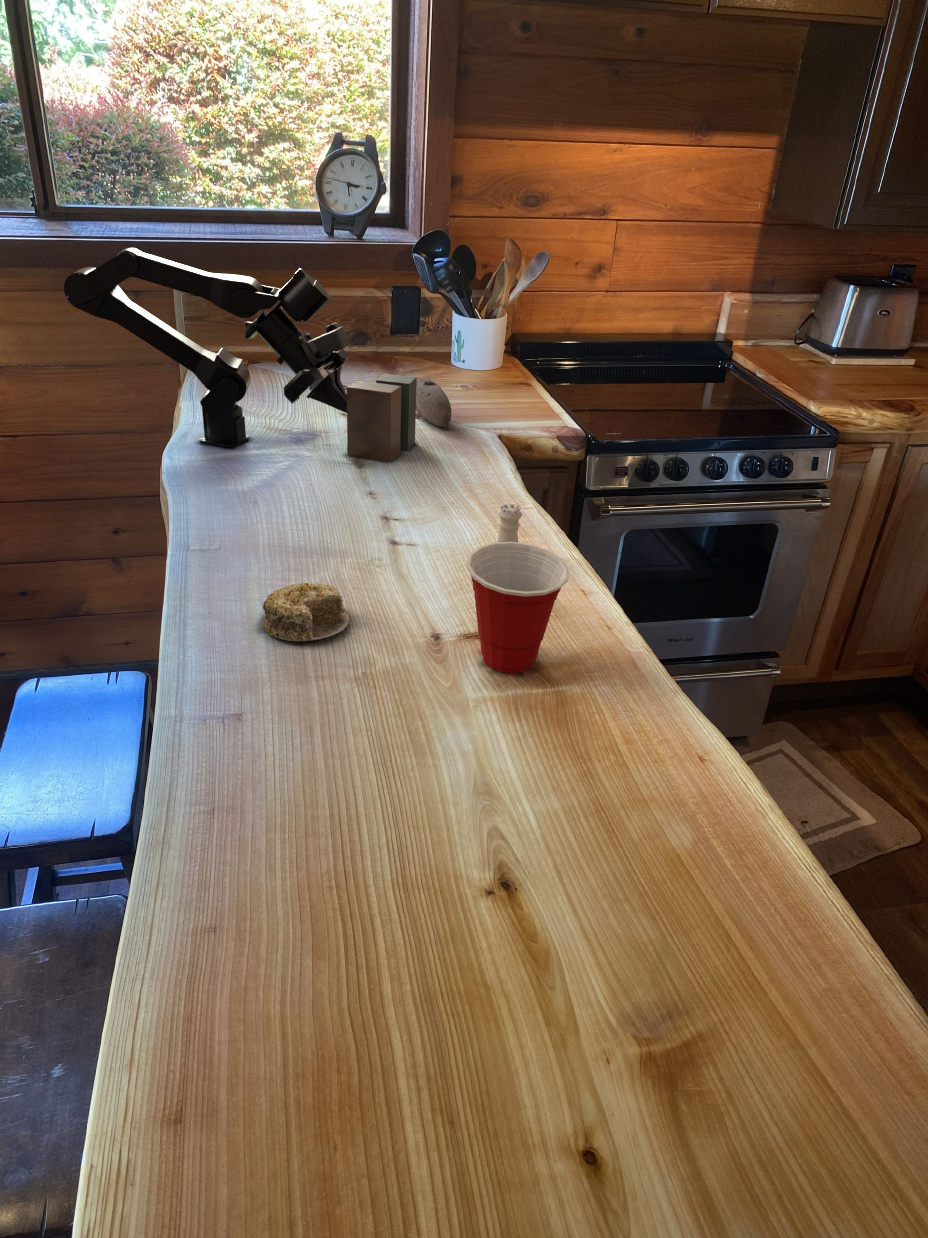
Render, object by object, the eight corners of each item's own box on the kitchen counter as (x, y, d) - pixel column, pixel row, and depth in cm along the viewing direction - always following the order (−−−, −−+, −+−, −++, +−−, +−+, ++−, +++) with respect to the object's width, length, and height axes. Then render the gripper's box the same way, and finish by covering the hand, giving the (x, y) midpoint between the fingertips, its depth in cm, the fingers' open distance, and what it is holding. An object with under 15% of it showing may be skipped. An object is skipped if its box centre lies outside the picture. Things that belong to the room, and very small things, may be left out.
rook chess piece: (527, 560, 123) (532, 505, 119) (515, 572, 119) (520, 516, 115) (497, 552, 124) (501, 498, 121) (484, 564, 121) (488, 509, 117)
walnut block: (347, 455, 157) (346, 386, 151) (358, 447, 161) (358, 379, 156) (389, 462, 155) (390, 392, 149) (400, 453, 159) (401, 385, 154)
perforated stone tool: (458, 431, 172) (460, 395, 169) (432, 433, 171) (434, 397, 167) (433, 410, 185) (434, 376, 181) (409, 411, 183) (409, 377, 180)
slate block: (375, 446, 162) (376, 379, 156) (383, 438, 166) (384, 373, 161) (407, 450, 161) (409, 383, 155) (415, 442, 165) (416, 376, 160)
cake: (245, 637, 102) (238, 594, 99) (291, 602, 110) (286, 561, 108) (322, 651, 98) (317, 607, 96) (364, 613, 107) (361, 572, 104)
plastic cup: (490, 697, 93) (498, 593, 87) (443, 647, 101) (448, 550, 95) (577, 675, 97) (591, 575, 92) (526, 629, 106) (535, 535, 100)
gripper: (298, 319, 141) (366, 395, 144) (337, 300, 157) (398, 369, 161) (254, 365, 146) (322, 438, 149) (296, 342, 162) (356, 409, 166)
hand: (351, 411), depth 156 cm, fingers closed, pressing on walnut block
